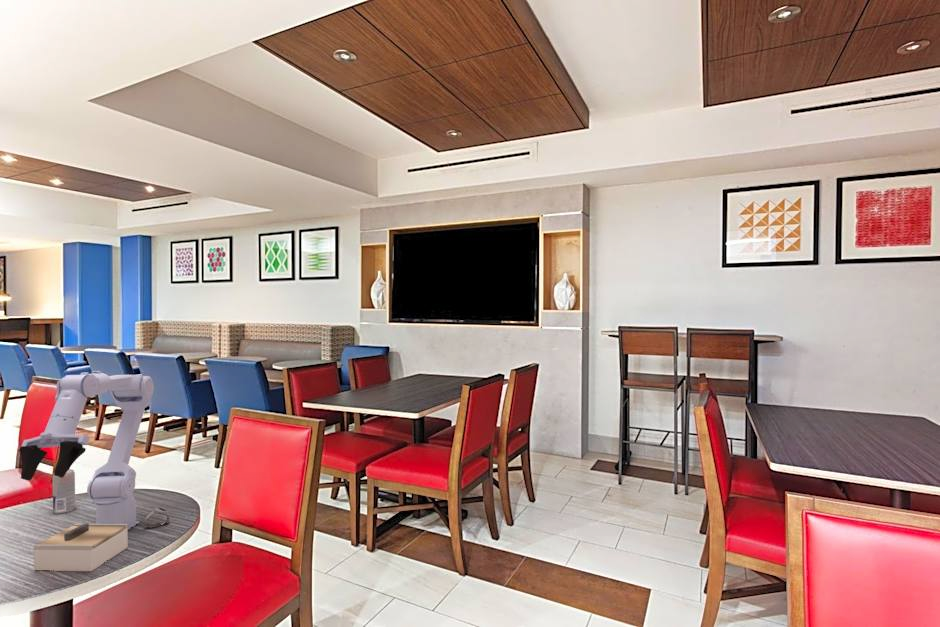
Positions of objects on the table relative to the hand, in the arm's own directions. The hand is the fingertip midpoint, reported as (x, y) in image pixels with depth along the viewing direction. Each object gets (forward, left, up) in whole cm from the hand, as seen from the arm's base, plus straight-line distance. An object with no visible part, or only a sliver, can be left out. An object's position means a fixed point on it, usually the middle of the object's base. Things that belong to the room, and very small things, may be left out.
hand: (42, 477), depth 114 cm
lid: (-11, 0, -19) cm, 22 cm away
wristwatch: (-30, +6, -24) cm, 39 cm away
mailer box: (-11, 0, -24) cm, 26 cm away
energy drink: (-40, -30, -24) cm, 56 cm away
